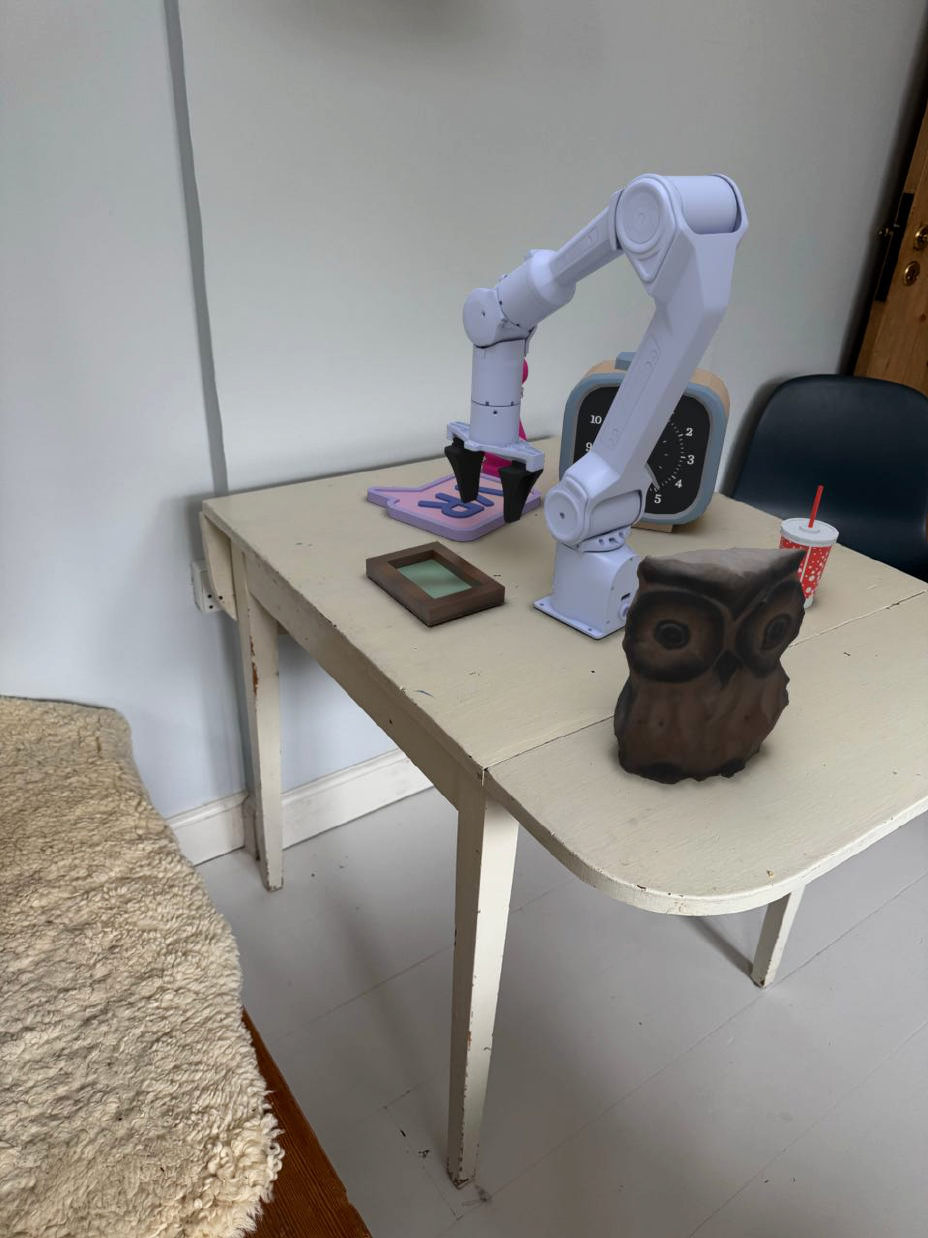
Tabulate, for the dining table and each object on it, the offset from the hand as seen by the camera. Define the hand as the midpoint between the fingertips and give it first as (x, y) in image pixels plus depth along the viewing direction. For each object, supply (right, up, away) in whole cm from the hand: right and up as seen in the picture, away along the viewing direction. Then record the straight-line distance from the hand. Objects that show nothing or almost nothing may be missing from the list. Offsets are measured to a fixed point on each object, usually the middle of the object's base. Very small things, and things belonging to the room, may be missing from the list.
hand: (490, 510), depth 102 cm
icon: (-5, +3, +17) cm, 18 cm away
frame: (-7, -10, -5) cm, 13 cm away
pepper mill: (+3, +9, +28) cm, 30 cm away
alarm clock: (+20, +1, +15) cm, 26 cm away
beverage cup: (+35, -11, -4) cm, 37 cm away
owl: (+16, -24, -28) cm, 40 cm away
